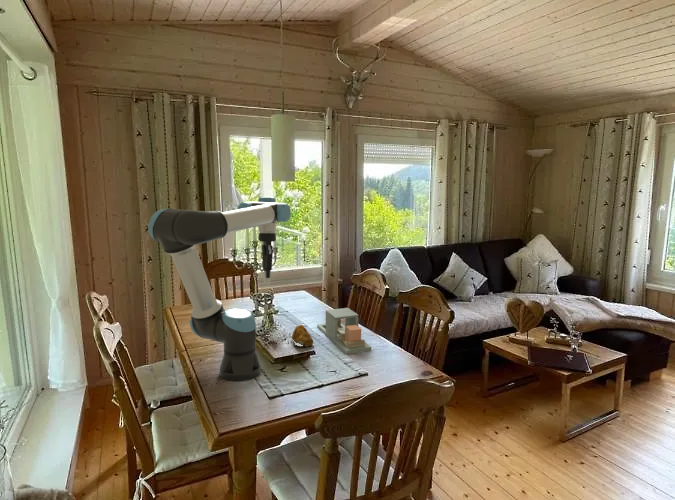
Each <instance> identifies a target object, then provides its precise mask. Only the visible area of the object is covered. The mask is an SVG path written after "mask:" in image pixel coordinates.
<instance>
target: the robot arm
mask: <svg viewBox="0 0 675 500" xmlns="http://www.w3.org/2000/svg"><path fill="white" fill-rule="evenodd" d="M257 200H258V201H243V202H241V203H239V204H238V206H237V209H234V210H227V211H223V212H221V211H219V210H211V211H209V210H207V211H206V210H205V211H204V210H194V209H177V208H161V209H159V210H157V211H155V212H154V213H153V214H152V215H151V217H150V219H149V222H148V225H147V228H148V230H147V231H148V234H149V235H150V238H151V239H152V240H153V241H155V242H157V243H160V245H161V247H162V249H163V252H164V253H165V254H166V255H170V256H171V258H172V261H173V263H174V266H175V269H176V270H177V273H178V275H179V278H180V279H181V282H182V285H183V287H184V289H185V293H186V294H187V296H188V299H189V301H190V303H191V306H192V309H191V314H190V320H189V327H190V329H191V331H192V332H193V333H194V334H195V335H196V336H198V337H200V338H201V339H206V340H211V341H214V342H219V343H221V344H223V355H222V360H221V362H220V365H219V376H220V377H221V378H222V379H223V380H226V381H232V382H241V381H247V380H250V379H254V378H255V377H256V378H257V377H258V375H260V374H261V371H262V369H261V367H262V366H261V362H260V360H259V357H258V354H257V348H256V343H257V342H256V341H257V340H256V339H257V338H256V337H257V335H256V334H257V331H256V329H257V325H256V317H255V315H254V313H253V312H252V311H250V310H248V309H244V308H238V307H237V308H235V307H234V308H229V309H226V310H225V308H224V305H223V304H222V301H221V300H219V299H217V298H216V296H215V294H214V292H213V289H212V287H211V283H210V282H209V279H208V277H207V273H206V271H205V269H204V266H203V263H202V261H201V259H200V256H199V253H198V251H197V249H196V245H200V244H201V245H202V244H205V243H209V242H213V241H215V240H220V239H223V238H225V237H226V236H227V235H228V234H231V233H235V232H239V231H242V230H247V229H251V228H256V227H258V230H257V231H258V232H259V233H258V241H259V242H262V244H261V251H262V252H261V253H262V257H261V258H262V268H263V269H262V270H263V285H264V286H271V284H272V280H271V278H272V277H271V276H272V274H271V272H272V270H273V254H274V248H273V245H272V242H275V241H276V240H277V239H276V238H277V233H276V231H277V229H276V228H277V227H278V225H277V223H278V222H279V223H285V222H287V221H288V220H289V219H290V218H291V216H292V214H291V213H292V211H291V207H290V205H289V204H287V203H285V202H276V198H275V197H273V196H259V197H258V199H257ZM276 222H277V223H276Z"/></svg>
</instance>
